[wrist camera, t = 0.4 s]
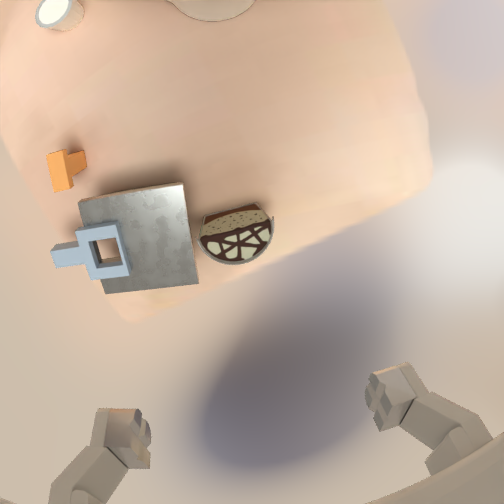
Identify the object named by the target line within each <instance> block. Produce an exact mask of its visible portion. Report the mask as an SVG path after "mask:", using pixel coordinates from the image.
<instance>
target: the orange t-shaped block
mask: <svg viewBox="0 0 504 504" xmlns="http://www.w3.org/2000/svg"><path fill="white" fill-rule="evenodd" d="M46 157H47V162H48V167H49V172H50V176H51V181H52V185H53V189H54V192H58V191H63V190H67V189H70V188H72V187H73V186H74V185H73V181H72V176H74V175H75V174H77V173H78V172H80V171H81V170H83V169H84V168H86V167H87V164H86V158H85V153H84V151H80V152H76V153H72V154H69V155H67V150H66V149H64V150H60V151H57V152H53V153H50V154H48V155H46Z"/></svg>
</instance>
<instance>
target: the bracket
mask: <svg viewBox="0 0 504 504" xmlns="http://www.w3.org/2000/svg"><path fill="white" fill-rule="evenodd" d="M75 234H76V237H77V240H78V241H73V242H67V243H61V244H56V245H55V246H54V247H53V249H52V250H51V251H50V253H51V255H52V258H53V261H54V264H55V266H56V268H59V267H66V266H73V265H81V264H85V265H86V268H87V271H88V274H89V277H90V279H91V280H97V279H106V278H114V277H123V276H130V273H131V267H130V264H129V260H128V257H127V253H126V249H125V246H124V242H123V238H122V234H121V230H120V226H119V222H118V221H114V222H108V223H102V224H96V225H90V226H84V227H79V228H78V229H77V230H76V231H75ZM115 237H116V241H117V244H118V248H119V252H120V255H121V259H122V261H117V262H109V263H102V264H99V262H98V259H97V255H96V252H95V249H94V246H93V242H92V241H95V240H102V239H108V238H115Z"/></svg>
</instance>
